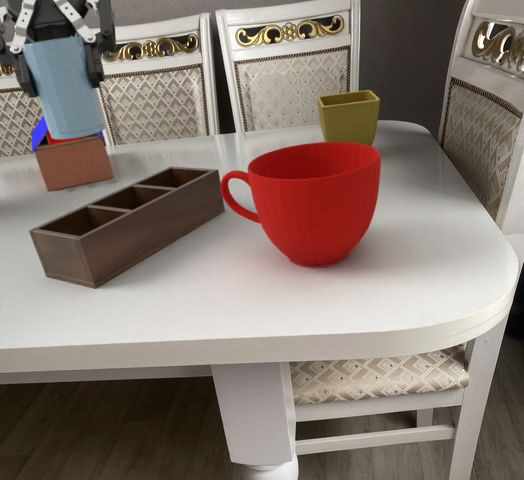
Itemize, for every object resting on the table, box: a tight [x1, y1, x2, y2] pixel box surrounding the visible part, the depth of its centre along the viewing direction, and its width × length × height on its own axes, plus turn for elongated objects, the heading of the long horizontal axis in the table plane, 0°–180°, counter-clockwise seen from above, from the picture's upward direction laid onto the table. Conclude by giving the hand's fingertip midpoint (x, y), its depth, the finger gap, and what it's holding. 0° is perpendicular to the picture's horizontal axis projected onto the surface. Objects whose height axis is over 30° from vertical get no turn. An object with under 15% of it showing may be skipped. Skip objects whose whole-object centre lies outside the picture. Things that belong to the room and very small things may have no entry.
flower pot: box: [316, 89, 381, 147], centre depth 84 cm, size 9×9×9 cm
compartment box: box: [28, 165, 226, 289], centre depth 64 cm, size 8×24×6 cm, turn 147°
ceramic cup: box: [220, 141, 382, 268], centre depth 55 cm, size 13×17×10 cm
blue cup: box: [21, 36, 106, 139], centre depth 56 cm, size 6×6×9 cm
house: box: [31, 114, 114, 192], centre depth 96 cm, size 12×20×12 cm, turn 21°
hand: (63, 87), depth 55 cm, fingers closed on blue cup, 6 cm apart
